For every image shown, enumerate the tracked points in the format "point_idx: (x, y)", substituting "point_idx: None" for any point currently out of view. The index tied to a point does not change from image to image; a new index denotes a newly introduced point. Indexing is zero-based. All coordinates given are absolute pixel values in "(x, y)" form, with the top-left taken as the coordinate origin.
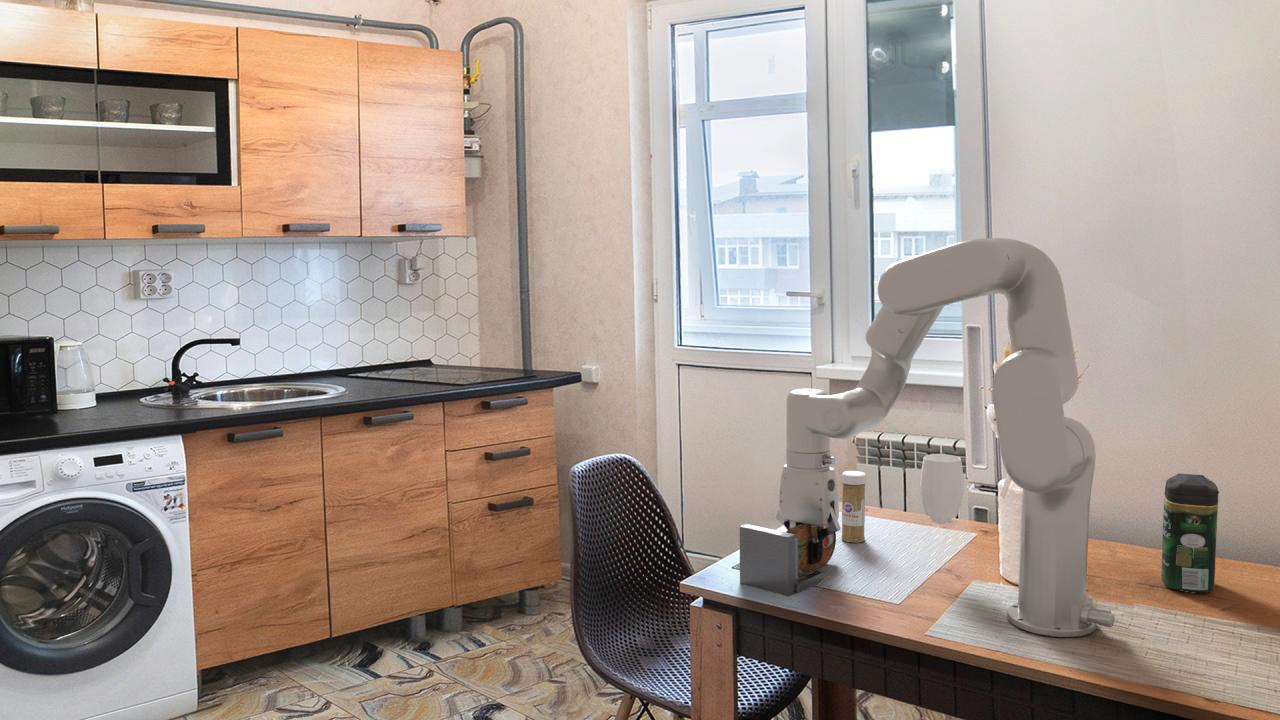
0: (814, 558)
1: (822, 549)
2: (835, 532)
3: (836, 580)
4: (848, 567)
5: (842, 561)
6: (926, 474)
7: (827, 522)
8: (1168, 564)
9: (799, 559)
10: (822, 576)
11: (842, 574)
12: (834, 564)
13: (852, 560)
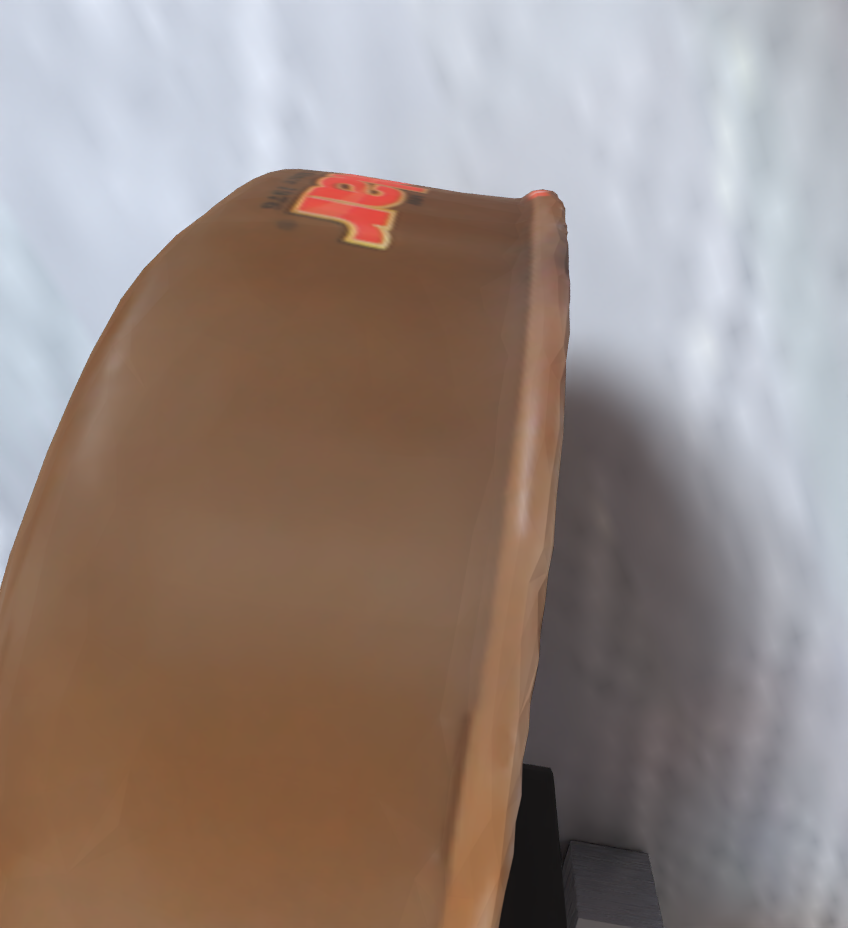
0: None
1: (560, 855)
2: (563, 235)
3: (768, 794)
4: (788, 360)
5: (634, 148)
6: None
7: (435, 784)
8: None
9: None
10: (654, 899)
11: (781, 622)
12: (575, 338)
13: (767, 5)
